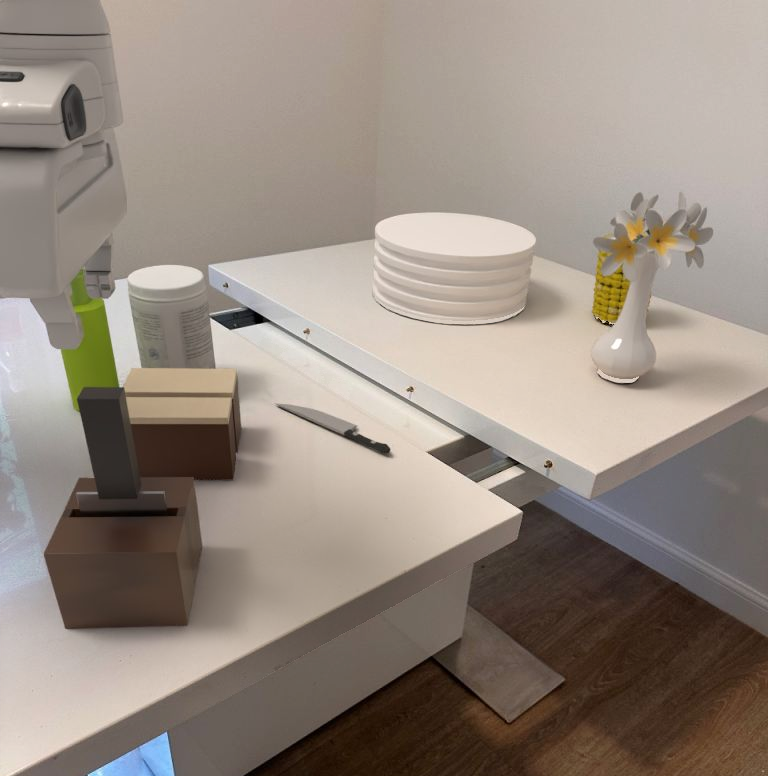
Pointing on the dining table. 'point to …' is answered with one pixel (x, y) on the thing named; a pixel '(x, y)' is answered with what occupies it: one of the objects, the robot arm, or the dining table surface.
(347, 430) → the chef's knife
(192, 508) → the knife block
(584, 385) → the dining table surface
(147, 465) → the cake slice
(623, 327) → the flower vase
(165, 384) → the cake
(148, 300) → the supplement tub
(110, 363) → the soap dispenser
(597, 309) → the food
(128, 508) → the knife
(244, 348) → the dining table surface
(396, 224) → the plate stack
